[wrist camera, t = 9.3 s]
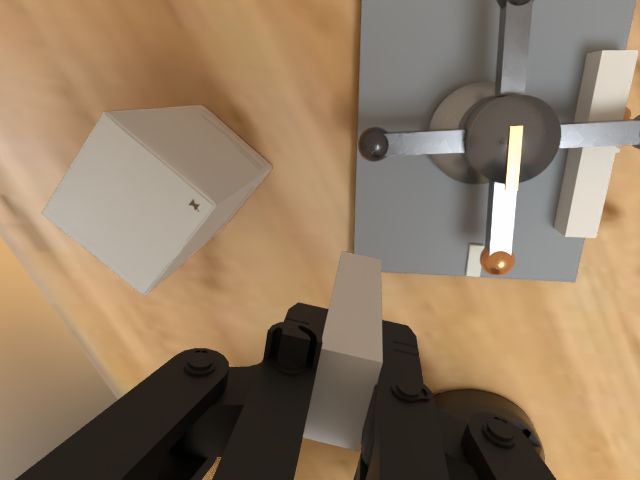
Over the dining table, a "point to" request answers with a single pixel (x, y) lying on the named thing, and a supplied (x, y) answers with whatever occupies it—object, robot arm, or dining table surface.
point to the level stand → (471, 67)
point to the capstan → (498, 135)
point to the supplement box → (154, 189)
